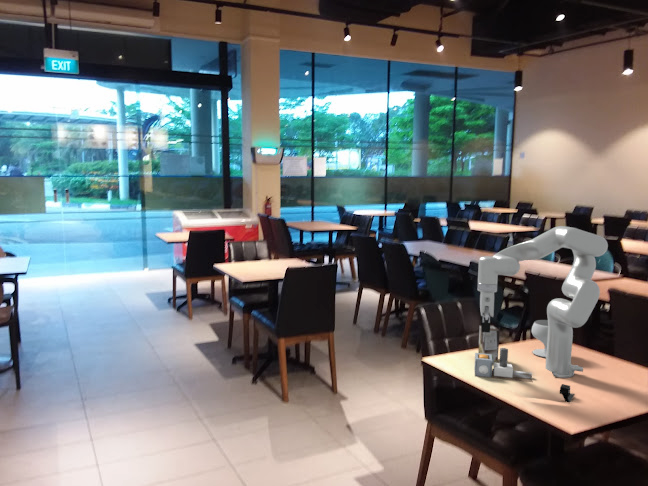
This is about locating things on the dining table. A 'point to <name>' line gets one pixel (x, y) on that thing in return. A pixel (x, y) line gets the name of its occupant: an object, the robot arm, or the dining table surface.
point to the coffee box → (489, 342)
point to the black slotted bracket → (566, 393)
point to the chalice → (540, 336)
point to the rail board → (515, 376)
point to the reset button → (483, 356)
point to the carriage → (503, 365)
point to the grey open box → (483, 365)
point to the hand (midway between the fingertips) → (485, 328)
